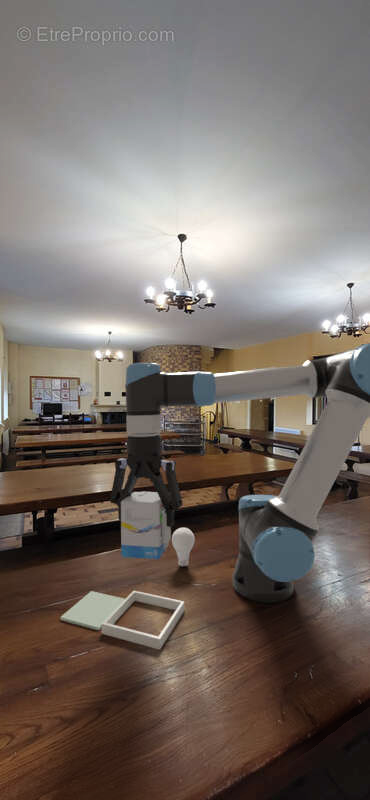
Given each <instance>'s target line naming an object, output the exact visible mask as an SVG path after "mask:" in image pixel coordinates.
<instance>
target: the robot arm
mask: <svg viewBox="0 0 370 800" xmlns="http://www.w3.org/2000/svg"><path fill="white" fill-rule="evenodd" d="M125 371H126V373H125V375H126V376H125V404H126V405H125V406H126V407H125V408H126V412H125V413H126V418H125V420H126V433H127V434H128V436H127V437H126V452H127V457H126V458H123V457H121V458H118V459H115V460H114V469H115V471H114V476H113V477H114V478H113V481H112V488H111V494H110V499H109V501H110V503H111V504H115V505H117V507H118V508H117V509H118V517H117V518H118V521H120V522H121V501H122V500H124V499H125V498H127V497H128V496H129V495H131V494H132V493H133V490H134V487H135V486H136V484H137V481H138V480H139V479H141V478H143V479H149V480H150V481H149V482H151V483H152V485H153V487H154V489H155V491H156V492H157V493H158V495H159V497H160V499H161V501H162V504H163V506H164V508H165V510H164V511H163V512H162V543H164V544H166V543H167V542H168V541H169V542H170V541H171V540H172V534H171V533H172V529H171V528H172V527H173V525H175V511H178V509H180V508H181V507H182V506H183V503H184V502H183V499H182V496H181V490H180V487H179V486H180V485H179V482H178V478H177V473H176V465H177V462H176V460H173V459H172V460H164V458H163V456H162V455H163V454H162V450H163V449H162V445H163V443H162V436H161V434H160V433H162V410H161V409H162V408H164V407H165V408H167V407H168V408H169V407H173V408H174V407H182V408H183V407H185V408H186V407H198V408H201V407H208V406H212V405H214V404H220V403H222V404H223V403H230V402H231V403H232V402H241V401H251V400H252V401H253V400H263V399H272V398H273V399H274V398H280V397H281V398H283V397H285V398H286V397H294V396H302V395H304V396H306V397H307V398H310V399H312V398H313V399H314V398H326V399H327V403H326V404H325V407H324V408H323V410H322V412H321V414H320V416H319V418H318V420H317V421H316V424H315V426H314V428H313V429H312V432H311V434H310V435H309V437H308V439H307V441H306V443H305V445H304V447H303V448H302V450H301V452H300V455H299V456H298V459H297V460H296V462H295V464H294V466H293V468H292V470H291V472H290V474H289V475H288V477H287V479H286V481H285V483H284V485H283V487H282V489H281V491H280V492H279V495H272V494H249V495H248V494H247V495H244V496H242V497H240V499H239V501H238V508H237V509H238V533H239V535H238V537H239V538H238V539H239V540H238V542H239V544H238V545H239V551H238V552H239V553H238V557H237V560H236V564H235V567H234V570H233V572H232V573H233V574H232V586H233V588H234V590H235V591H236V592H237V593H238V594H239V595H241V596H242V597H244V598H246V599H248V600H251V601H254V602H259V603H267V604H270V603H280V602H283V601H285V600H287V599H289V598H291V597H292V595H293V593H294V581H297V580H300V579H301V578H303V577H304V576H305V575H307V574H308V573H309V572H310V570H311V568H312V567H313V565H314V562H315V549H314V545H313V544H314V543H313V541H314V539H315V537H316V535H317V534H318V532H319V529H320V526H319V524H318V521H317V516H318V514H319V512H320V510H321V509H322V507H323V505H324V502H325V500H326V498H327V497H328V495H329V494H330V492H331V489H332V487H333V485H334V483H335V482H336V479H337V477H339V476H338V475H339V474H340V472H341V471H342V468H343V466H344V464H345V463H346V460H347V458H348V456H349V454H350V453H351V450H352V448H353V447H354V444H355V443H356V441H357V440H358V437H359V435H360V433H361V431H362V429H363V428H364V426H365V423H366V421H367V420H368V419H369V418H370V343H368V342H367V343H364V344H361V345H359V346H357V347H355V348H351V349H348V350H344V351H341V352H338V353H335V354H332V355H330V356H329V355H328V356H325V357H323V358H319V359H313V360H306V361H304V363H303V364H302V365H291V366H284V367H272V368H262V369H251V370H241V371H234V372H233V371H232V372H221V373H213V372H212V371H211V372H210V371H199V370H198V371H187V372H164V371H163V372H162V370H161V366H160V365H159V364H158V363H155V362H136V363H130V364H129V365H128V366H127V367H126V370H125ZM127 466H128V468H129V469H130V471H129V473H128V476H127V481H126V482H125V485H124V481H125V476H126V470H127ZM162 467H163V471H164V472H165V479H166V482H167V483H166V484H167V486H168V487H167V486H166V484H165V481H164V479H163V475H162V472H161V471H160V470H161V468H162Z"/></svg>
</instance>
